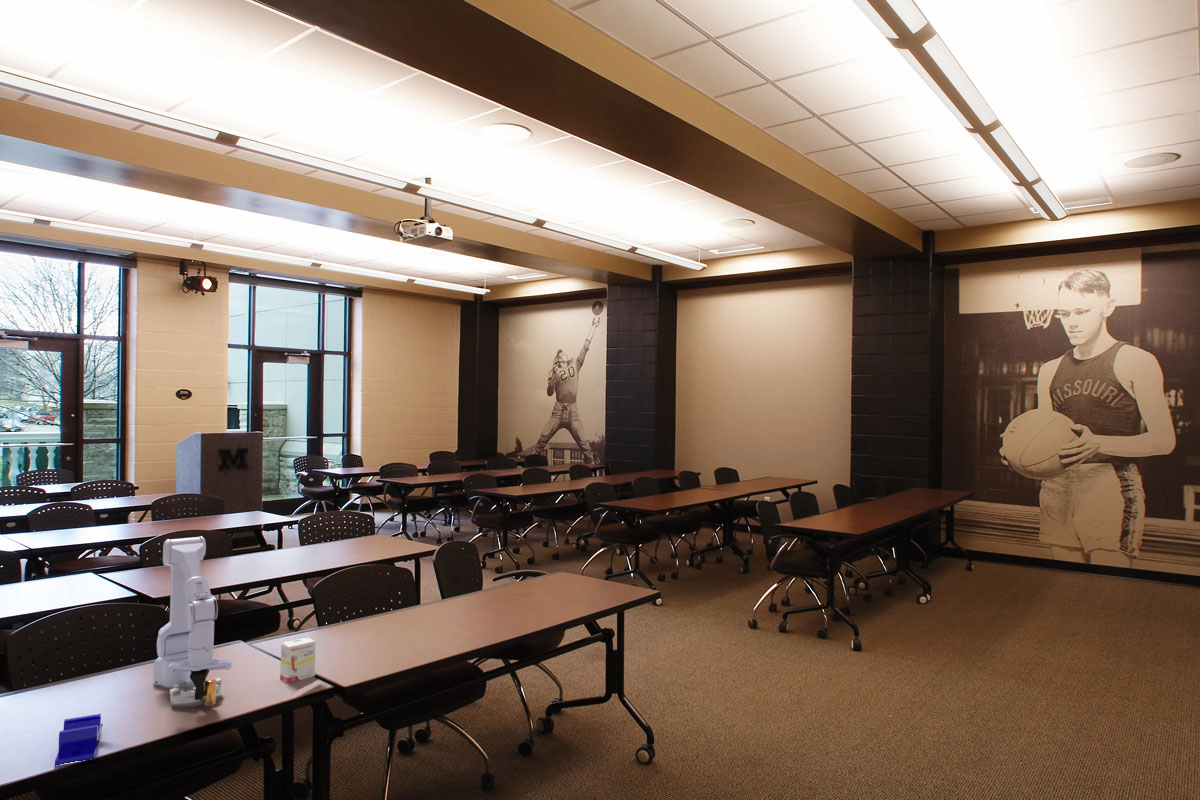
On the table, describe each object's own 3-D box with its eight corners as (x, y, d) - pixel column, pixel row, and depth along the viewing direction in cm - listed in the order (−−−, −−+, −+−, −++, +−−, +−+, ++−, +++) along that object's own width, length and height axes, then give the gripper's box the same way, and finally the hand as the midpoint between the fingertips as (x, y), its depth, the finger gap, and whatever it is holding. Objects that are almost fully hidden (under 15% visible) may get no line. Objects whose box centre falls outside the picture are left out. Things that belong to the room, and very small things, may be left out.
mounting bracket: (94, 761, 163) (94, 734, 163) (54, 768, 159) (55, 741, 159) (102, 730, 178) (103, 706, 179) (67, 736, 175) (67, 712, 175)
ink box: (286, 688, 206) (287, 646, 207) (279, 683, 210) (280, 643, 210) (315, 680, 213) (316, 640, 213) (307, 676, 216) (308, 636, 216)
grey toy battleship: (163, 699, 194) (163, 671, 194) (211, 687, 203) (212, 660, 203) (186, 718, 182) (186, 688, 182) (236, 704, 191) (236, 676, 192)
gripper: (164, 652, 181) (163, 706, 181) (227, 649, 184) (225, 702, 184) (174, 643, 188) (172, 695, 187) (234, 640, 191) (233, 691, 191)
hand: (199, 698), depth 186 cm, fingers closed
